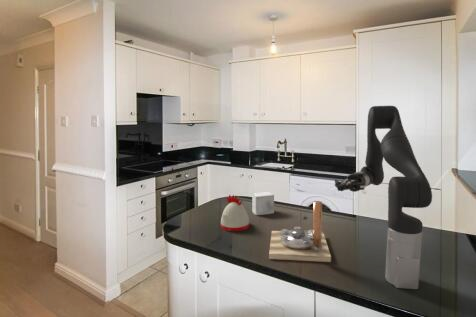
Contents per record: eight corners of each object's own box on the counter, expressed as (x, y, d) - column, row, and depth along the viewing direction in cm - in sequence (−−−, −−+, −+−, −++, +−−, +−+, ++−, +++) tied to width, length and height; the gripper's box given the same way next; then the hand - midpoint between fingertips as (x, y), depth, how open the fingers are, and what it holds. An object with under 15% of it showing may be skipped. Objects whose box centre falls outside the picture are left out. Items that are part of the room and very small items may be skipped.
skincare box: (256, 215, 159) (255, 196, 157) (252, 212, 165) (251, 193, 163) (274, 213, 162) (274, 194, 160) (269, 209, 168) (269, 191, 166)
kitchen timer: (230, 218, 155) (229, 190, 153) (254, 223, 148) (254, 193, 146) (215, 228, 143) (213, 197, 141) (240, 233, 136) (239, 201, 134)
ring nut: (273, 238, 124) (273, 192, 121) (303, 232, 129) (303, 188, 126) (302, 260, 105) (302, 206, 102) (335, 252, 110) (337, 200, 107)
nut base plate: (330, 262, 108) (331, 256, 108) (269, 258, 111) (269, 253, 111) (323, 237, 129) (323, 232, 129) (271, 235, 133) (271, 230, 133)
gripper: (342, 171, 134) (324, 176, 121) (373, 174, 125) (357, 180, 112) (342, 187, 134) (323, 195, 122) (373, 192, 126) (356, 200, 113)
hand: (339, 188), depth 117 cm, fingers closed
